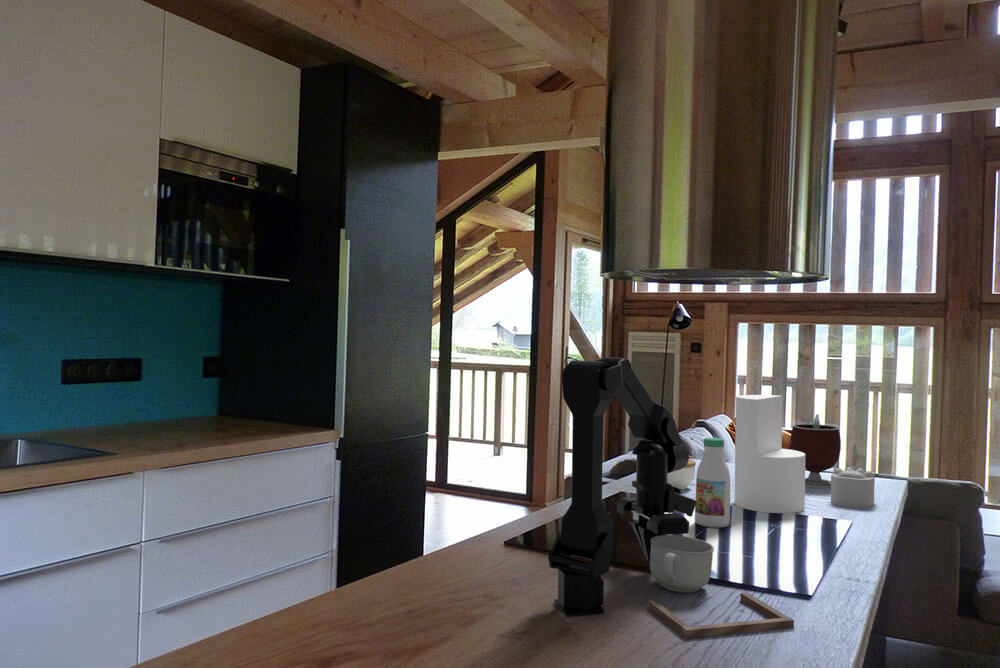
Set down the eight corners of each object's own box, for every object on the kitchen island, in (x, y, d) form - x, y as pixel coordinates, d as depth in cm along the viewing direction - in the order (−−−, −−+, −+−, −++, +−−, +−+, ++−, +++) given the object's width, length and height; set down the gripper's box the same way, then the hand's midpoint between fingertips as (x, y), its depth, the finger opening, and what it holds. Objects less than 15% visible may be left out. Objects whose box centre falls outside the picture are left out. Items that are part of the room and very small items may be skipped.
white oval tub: (828, 503, 206) (828, 471, 206) (835, 495, 217) (835, 464, 217) (871, 508, 201) (872, 475, 201) (876, 499, 212) (876, 467, 212)
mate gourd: (839, 490, 223) (840, 420, 223) (787, 485, 229) (788, 417, 229) (841, 481, 237) (842, 415, 237) (792, 477, 243) (793, 412, 243)
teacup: (667, 573, 144) (668, 530, 144) (723, 586, 138) (724, 541, 138) (629, 592, 134) (630, 546, 134) (688, 607, 127) (688, 558, 127)
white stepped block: (723, 505, 202) (724, 397, 202) (749, 495, 215) (751, 393, 215) (790, 516, 191) (792, 402, 191) (814, 504, 204) (815, 397, 204)
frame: (686, 638, 114) (686, 630, 114) (648, 608, 126) (648, 600, 126) (793, 627, 119) (794, 620, 119) (746, 599, 131) (747, 592, 131)
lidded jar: (699, 491, 219) (699, 458, 219) (660, 491, 219) (661, 457, 219) (690, 484, 230) (690, 452, 230) (653, 483, 230) (654, 451, 230)
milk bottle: (706, 518, 187) (707, 435, 187) (736, 524, 182) (737, 438, 182) (689, 524, 182) (690, 438, 182) (718, 530, 177) (720, 441, 176)
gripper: (716, 485, 139) (715, 573, 139) (667, 467, 157) (666, 545, 157) (659, 487, 136) (658, 577, 136) (616, 469, 154) (615, 548, 154)
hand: (650, 560), depth 146 cm, fingers closed
